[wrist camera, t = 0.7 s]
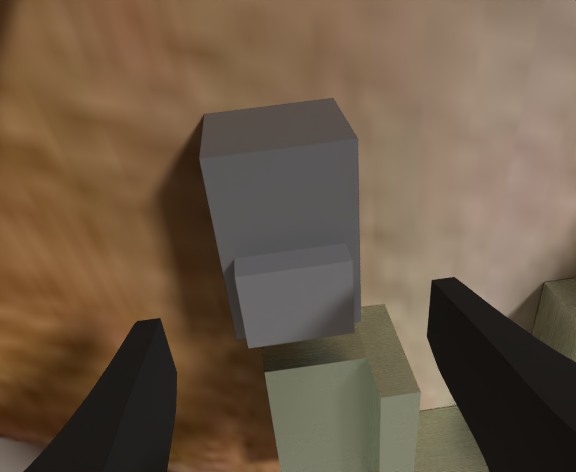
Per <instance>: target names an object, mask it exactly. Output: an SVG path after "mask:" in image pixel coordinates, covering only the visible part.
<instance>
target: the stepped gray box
mask: <svg viewBox="0 0 576 472" xmlns="http://www.w3.org/2000/svg"><path fill="white" fill-rule="evenodd" d="M199 160H200V165H201V170H202V175H203V180H204V184H205V189H206V194H207V199H208V204H209V209H210V214H211V218H212V223H213V228H214V233H215V238H216V243H217V247H218V252H219V257H220V262H221V267H222V272H223V277H224V281H225V286H226V291H227V296H228V301H229V306H230V310H231V315H232V320H233V325H234V330H235V335H236V339H237V340H241V339H247V344H248V349H249V348H256V347H263V346H269V345H276V344H283V343H290V342H297V341H304V340H311V339H318V338H325V337H332V336H339V335H345V334H352V333H355V329H354V323H359V322H361V285H360V229H359V173H358V138H357V136H356V135H355V133H354V131H353V130H352V128H351V126H350V125H349V123H348V121H347V120H346V118H345V117H344V115H343V113H342V112H341V110H340V108H339V107H338V105H337V103H336V102H335V100H334V98H329V99H321V100H313V101H305V102H297V103H289V104H281V105H273V106H265V107H257V108H249V109H241V110H234V111H226V112H218V113H210V114H204V121H203V130H202V139H201V148H200V157H199Z"/></svg>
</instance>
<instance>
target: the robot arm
mask: <svg viewBox="0 0 576 472" xmlns="http://www.w3.org/2000/svg"><path fill="white" fill-rule="evenodd" d="M427 338H428V341H429V344H430V347H431V350H432V352H433V355H434V358H435V361H436V363H437V366H438V369H439V371H440V373H441V375H442V377H443V379H444V381H445V383H446V385H447V387H448V389H449V391H450V393H451V395H452V397H453V399H454V400H455V402H456V404H457V406H458V408H459V410H460V412H461V414H462V416H463V418H464V420H465V422H466V423H467V425H468V427H469V429H470V431H471V433H472V435H473V437H474V439H475V441H476V443H477V445H478V447H479V449H480V451H481V453H482V455H483V457H484V460H485V462H486V464H487V467H488V469H489V472H576V362H575V361H573V360H571V359H569V358H567V357H566V356H564V355H562V354H561V353H559V352H558V351H556V350H554V349H553V348H551V347H550V346H548V345H547V344H545V343H543V342H542V341H540V340H539V339H537V338H536V337H534V336H533V335H531V334H530V333H528V332H527V331H525V330H524V329H523V328H521V327H520V326H518V325H517V324H515V323H514V322H513V321H511V320H510V319H509V318H507V317H506V316H504V315H503V314H502V313H500V312H499V311H498V310H496V309H495V308H494V307H492V306H491V305H490V304H489V303H487V302H486V301H485V300H483V299H482V298H481V297H479V296H478V295H477V294H476V293H474V292H473V291H472V290H471V289H469V288H468V287H467V286H465V285H464V284H463V283H462V282H460V281H459V280H458V279H456V278H455V277H451V278H444V279H437V280H432V284H431V295H430V307H429V318H428V329H427ZM176 395H177V371H176V368H175V365H174V362H173V358H172V355H171V352H170V348H169V345H168V342H167V339H166V335H165V332H164V329H163V325H162V322H161V319H160V318H157V319H150V320H143V321H137V322H136V323H135V324H134V325H133V327H132V329H131V330H130V332H129V334H128V335H127V337H126V338H125V340H124V342H123V343H122V345H121V347H120V348H119V350H118V351H117V353H116V355H115V356H114V358H113V359H112V361H111V362H110V364H109V365H108V367H107V368H106V370H105V371H104V373H103V374H102V376H101V377H100V379H99V380H98V382H97V383H96V385H95V386H94V388H93V389H92V390H91V392H90V393H89V395H88V396H87V397H86V399H85V400H84V401H83V403H82V404H81V405H80V407H79V408H78V409H77V411H76V412H75V413H74V415H73V416H72V417H71V419H70V420H69V421H68V422H67V424H66V425H65V426H64V427H63V428H62V430H61V431H60V432H59V433H58V434H57V436H56V437H55V438H54V439H53V440H52V441H51V443H50V444H49V445H48V446H47V447H46V448H45V450H44V451H43V452H42V453H41V454H40V455H39V456H38V457H37V459H35V460H34V461H33V462H32V464H31V465H30V466H29V467H28V468H27V469H26V470H25V471H24V472H167V468H168V461H169V454H170V448H171V441H172V434H173V427H174V420H175V413H176Z"/></svg>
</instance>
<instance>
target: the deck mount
mask: <svg viewBox="0 0 576 472" xmlns="http://www.w3.org/2000/svg"><path fill="white" fill-rule="evenodd" d="M354 329H355V333H352V334H345V335H339V336H332V337H325V338H318V339H311V340H304V341H297V342H290V343H283V344H276V345H269V346H263V347H262V349H263V361H264V373H265V379H266V385H267V391H268V397H269V403H270V409H271V415H272V421H273V427H274V433H275V439H276V445H277V451H278V457H279V463H280V470H281V472H489V469H488V467H487V464H486V462H485V460H484V457H483V455H482V453H481V451H480V449H479V447H478V445H477V443H476V441H475V439H474V437H473V435H472V433H471V431H470V429H469V427H468V425H467V423H466V422H465V420H464V418H463V416H462V414H461V412H460V410H459V408H458V406H452V407H445V408H439V409H432V410H425V411H419V406H420V395H421V392H420V389H419V387H418V384H417V382H416V379H415V377H414V375H413V372H412V370H411V367H410V365H409V362H408V360H407V358H406V355H405V353H404V350H403V348H402V346H401V343H400V341H399V338H398V336H397V333H396V331H395V329H394V326H393V324H392V321H391V319H390V316H389V314H388V312H387V309H386V307H385V305H377V306H370V307H363V308H361V322H359V323H354ZM532 335H533V336H534V337H536V338H537V339H539V340H540V341H542V342H543V343H545V344H547V345H548V346H550V347H551V348H553V349H554V350H556V351H558V352H559V353H561V354H562V355H564V356H566V357H567V358H569V359H571V360H573V361H575V362H576V278H573V279H565V280H558V281H551V282H544V286H543V290H542V294H541V298H540V302H539V307H538V311H537V315H536V319H535V323H534V327H533V331H532Z"/></svg>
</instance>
